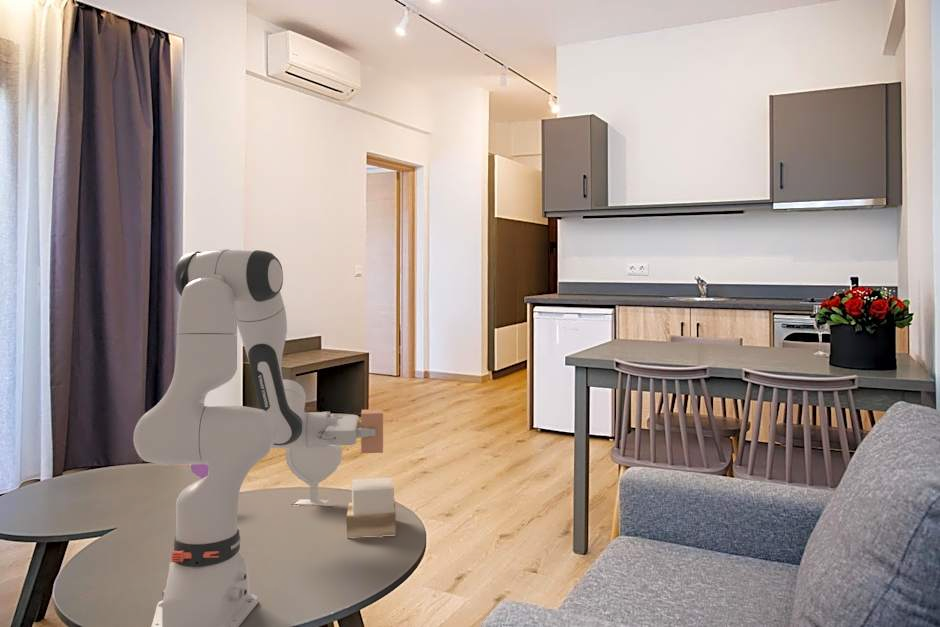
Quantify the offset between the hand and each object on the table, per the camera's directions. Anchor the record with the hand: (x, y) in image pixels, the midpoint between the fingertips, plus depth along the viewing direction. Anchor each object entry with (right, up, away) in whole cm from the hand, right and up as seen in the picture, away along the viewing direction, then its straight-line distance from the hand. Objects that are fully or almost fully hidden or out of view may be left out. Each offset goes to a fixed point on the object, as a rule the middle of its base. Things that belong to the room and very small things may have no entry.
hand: (375, 428), depth 176 cm
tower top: (-1, -20, +1) cm, 20 cm away
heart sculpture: (-21, -25, +22) cm, 39 cm away
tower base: (-1, -26, +1) cm, 26 cm away
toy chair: (-48, -25, +14) cm, 56 cm away
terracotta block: (-1, -6, 0) cm, 6 cm away
